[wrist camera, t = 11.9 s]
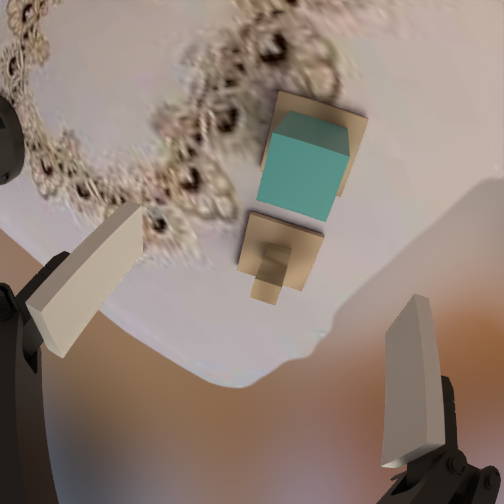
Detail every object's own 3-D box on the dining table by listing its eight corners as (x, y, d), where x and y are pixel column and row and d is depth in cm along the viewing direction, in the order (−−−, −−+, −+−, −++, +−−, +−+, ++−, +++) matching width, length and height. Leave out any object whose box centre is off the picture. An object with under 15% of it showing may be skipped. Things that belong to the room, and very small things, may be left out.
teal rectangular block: (276, 162, 29) (256, 199, 23) (290, 110, 26) (272, 132, 20) (330, 179, 28) (325, 222, 22) (347, 128, 25) (350, 156, 19)
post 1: (261, 168, 30) (241, 199, 25) (279, 90, 25) (262, 102, 20) (340, 194, 30) (338, 230, 25) (367, 118, 25) (375, 137, 20)
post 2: (238, 266, 38) (220, 305, 33) (251, 211, 33) (232, 247, 28) (302, 287, 38) (293, 329, 33) (324, 234, 33) (318, 275, 28)
